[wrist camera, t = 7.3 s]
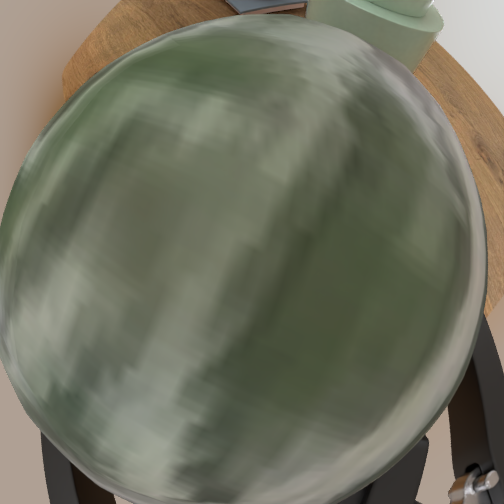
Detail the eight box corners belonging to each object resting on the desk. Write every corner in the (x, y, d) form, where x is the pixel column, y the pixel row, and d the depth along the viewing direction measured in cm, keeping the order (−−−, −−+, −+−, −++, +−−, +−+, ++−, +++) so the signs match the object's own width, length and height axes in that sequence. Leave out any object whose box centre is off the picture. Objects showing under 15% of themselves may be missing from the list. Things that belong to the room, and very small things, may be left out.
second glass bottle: (268, 117, 31) (289, -118, 4) (325, 84, 32) (382, -101, 5) (327, 176, 30) (460, -59, 3) (380, 135, 31) (499, -37, 4)
